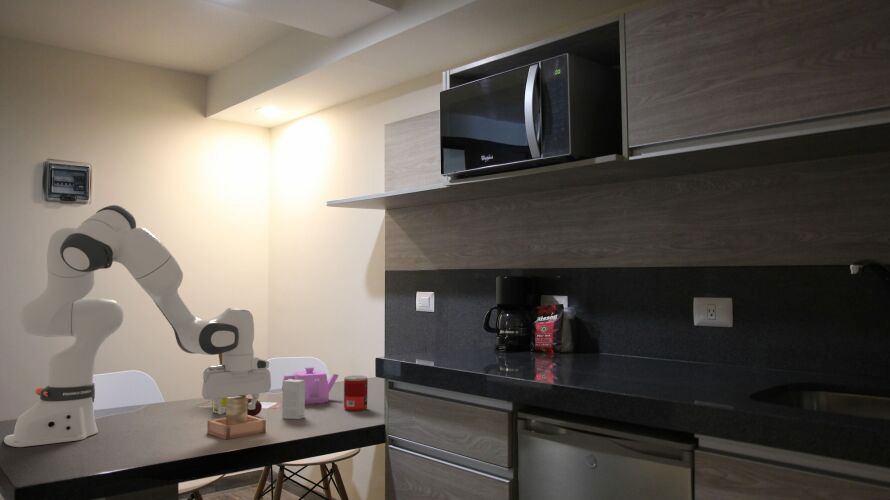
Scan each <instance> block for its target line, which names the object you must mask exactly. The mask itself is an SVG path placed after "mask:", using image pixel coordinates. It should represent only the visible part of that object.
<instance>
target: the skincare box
mask: <svg viewBox="0 0 890 500" xmlns="http://www.w3.org/2000/svg"><path fill="white" fill-rule="evenodd" d="M282 384H283V391H282V413H281V415H282V417H281V418H282V419H285V420H286V419H289V420H300V419H302V418H305V416H306V415H305V414H306V413H305V412H306V411H305V409H306V408H305V407H306V406H305V405H306V404H305V380H292V379H289V380H285V381H283V380H282Z"/></svg>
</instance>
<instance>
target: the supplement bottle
mask: <svg viewBox="0 0 890 500" xmlns="http://www.w3.org/2000/svg"><path fill="white" fill-rule="evenodd" d="M220 403H221V405H222V407H225V408H226V398H222V402H220ZM225 411H226V410H225ZM212 412H213V413H214V414H218V407H217V406H216V404H215V402H214V399H213V400H212ZM225 414H226V412H225Z"/></svg>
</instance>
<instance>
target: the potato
mask: <svg viewBox="0 0 890 500" xmlns="http://www.w3.org/2000/svg"><path fill="white" fill-rule="evenodd" d="M251 400H252V398H248V403H250V402H251ZM262 409H263V407H262V403H261V401H260V400H259V399H258V400H257V402H256V403H255V409H252V410H250V409H248V407H247V415H250V416H254V417H256V416H257V415H259V414H260V413H261V411H262Z"/></svg>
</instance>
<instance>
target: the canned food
mask: <svg viewBox="0 0 890 500" xmlns="http://www.w3.org/2000/svg"><path fill="white" fill-rule="evenodd" d="M368 384H369V383H368V376H367V375H366V376H365V375H348V376H344V380H343V408H344V410H345V411H348V412H362V411H365V410H367V408H368Z"/></svg>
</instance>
